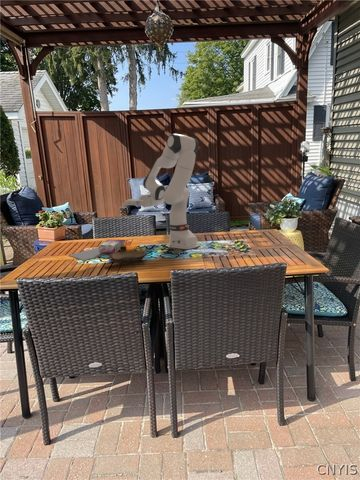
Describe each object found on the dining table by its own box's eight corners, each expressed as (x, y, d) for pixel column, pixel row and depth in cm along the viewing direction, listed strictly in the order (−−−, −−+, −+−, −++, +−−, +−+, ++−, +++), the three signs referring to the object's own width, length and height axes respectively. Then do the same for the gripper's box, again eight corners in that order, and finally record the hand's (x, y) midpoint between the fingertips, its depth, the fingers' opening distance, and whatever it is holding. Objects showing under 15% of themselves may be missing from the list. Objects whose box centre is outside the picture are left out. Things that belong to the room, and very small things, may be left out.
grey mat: (117, 252, 235) (117, 250, 235) (83, 260, 220) (83, 258, 219) (101, 247, 250) (101, 245, 250) (68, 255, 234) (68, 253, 234)
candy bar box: (109, 246, 246) (98, 252, 231) (108, 239, 245) (97, 245, 230) (124, 246, 243) (114, 253, 228) (124, 239, 242) (114, 245, 227)
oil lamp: (103, 269, 200) (102, 256, 199) (116, 255, 230) (114, 243, 228) (143, 268, 199) (142, 254, 197) (151, 253, 228) (150, 241, 226)
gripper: (136, 196, 265) (120, 198, 256) (153, 196, 250) (137, 199, 241) (137, 205, 266) (121, 207, 257) (154, 205, 251) (138, 208, 242)
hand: (129, 203), depth 249 cm, fingers closed
